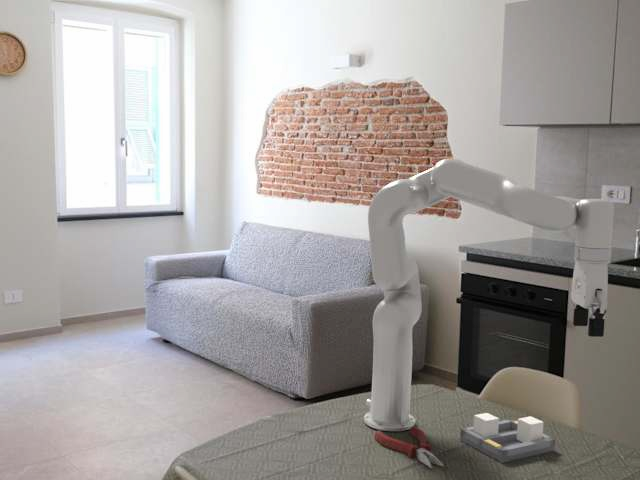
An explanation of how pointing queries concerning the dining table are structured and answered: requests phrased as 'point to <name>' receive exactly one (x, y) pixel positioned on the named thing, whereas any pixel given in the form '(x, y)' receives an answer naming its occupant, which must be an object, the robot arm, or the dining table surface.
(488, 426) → the tab
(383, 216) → the robot arm
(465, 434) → the switch bank
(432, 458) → the pliers
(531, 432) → the tab
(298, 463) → the dining table surface
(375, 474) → the dining table surface
